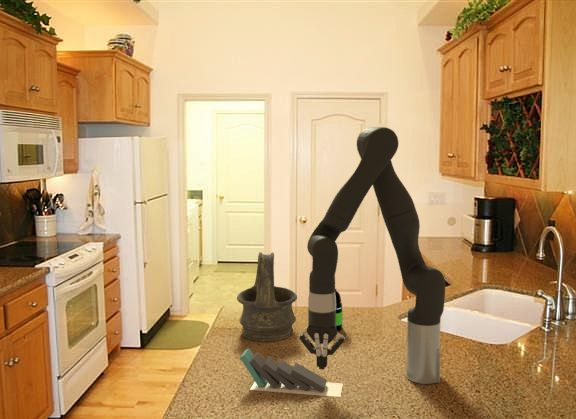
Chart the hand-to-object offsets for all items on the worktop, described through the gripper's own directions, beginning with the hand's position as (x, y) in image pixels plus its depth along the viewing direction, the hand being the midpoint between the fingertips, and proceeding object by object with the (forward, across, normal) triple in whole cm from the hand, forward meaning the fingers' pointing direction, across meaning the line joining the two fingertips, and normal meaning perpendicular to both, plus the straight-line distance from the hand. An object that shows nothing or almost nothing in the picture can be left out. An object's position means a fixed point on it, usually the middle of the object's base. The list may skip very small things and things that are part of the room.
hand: (322, 368), depth 142 cm
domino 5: (+5, +1, 0) cm, 5 cm away
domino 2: (+5, -12, 0) cm, 14 cm away
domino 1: (+6, -17, 0) cm, 18 cm away
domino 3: (+5, -8, 0) cm, 10 cm away
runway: (+7, -7, 0) cm, 10 cm away
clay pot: (+7, -25, +42) cm, 49 cm away
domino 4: (+5, -4, 0) cm, 6 cm away
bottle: (+7, -2, +50) cm, 51 cm away
